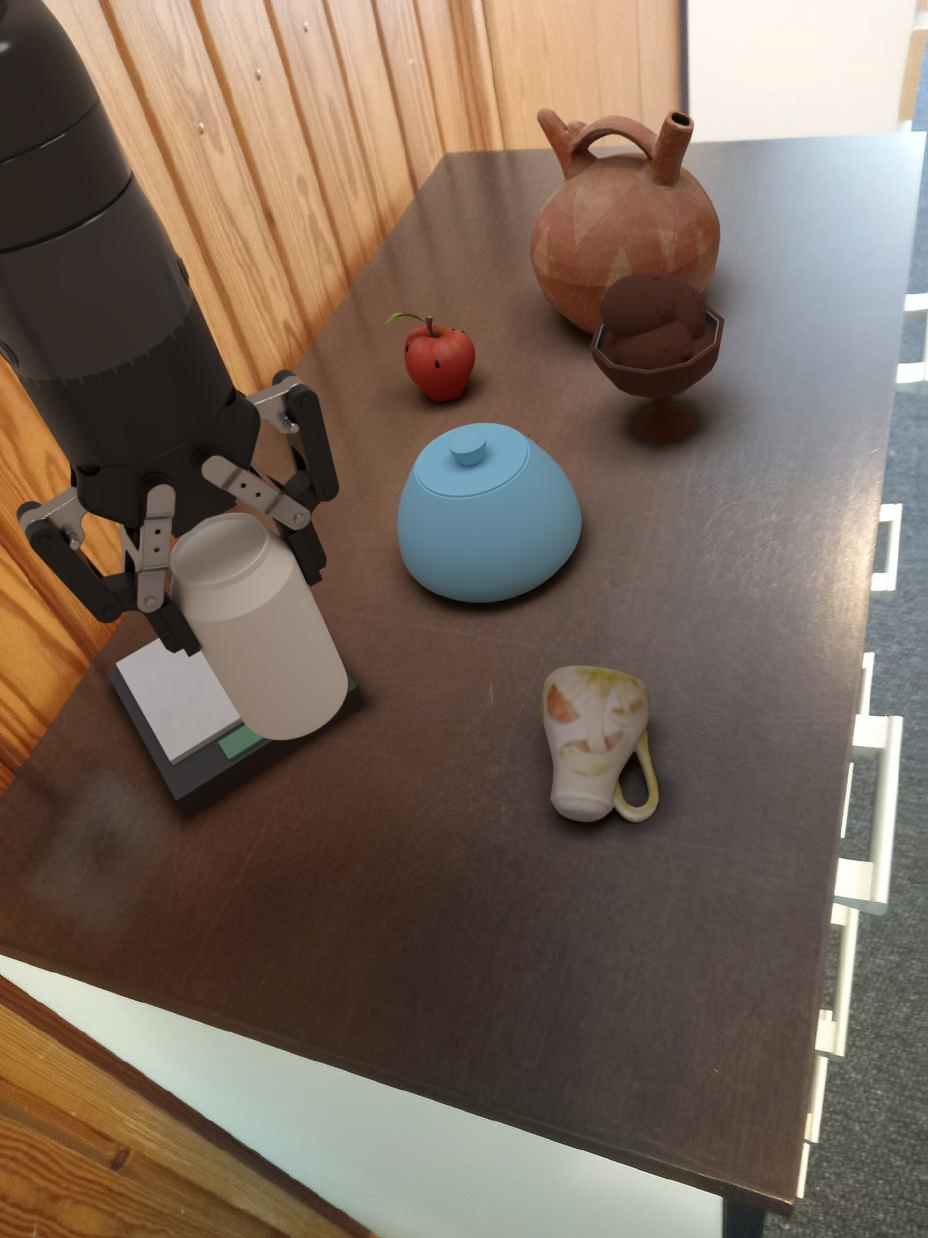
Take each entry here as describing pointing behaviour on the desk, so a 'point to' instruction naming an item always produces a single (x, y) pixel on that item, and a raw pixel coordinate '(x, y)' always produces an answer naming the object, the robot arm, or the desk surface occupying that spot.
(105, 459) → the robot arm
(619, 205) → the jug
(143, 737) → the scale
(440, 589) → the sugar bowl
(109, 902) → the desk surface
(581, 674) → the mug
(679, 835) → the desk surface
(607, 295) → the ice cream bowl
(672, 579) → the desk surface
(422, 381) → the apple
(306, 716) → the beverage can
